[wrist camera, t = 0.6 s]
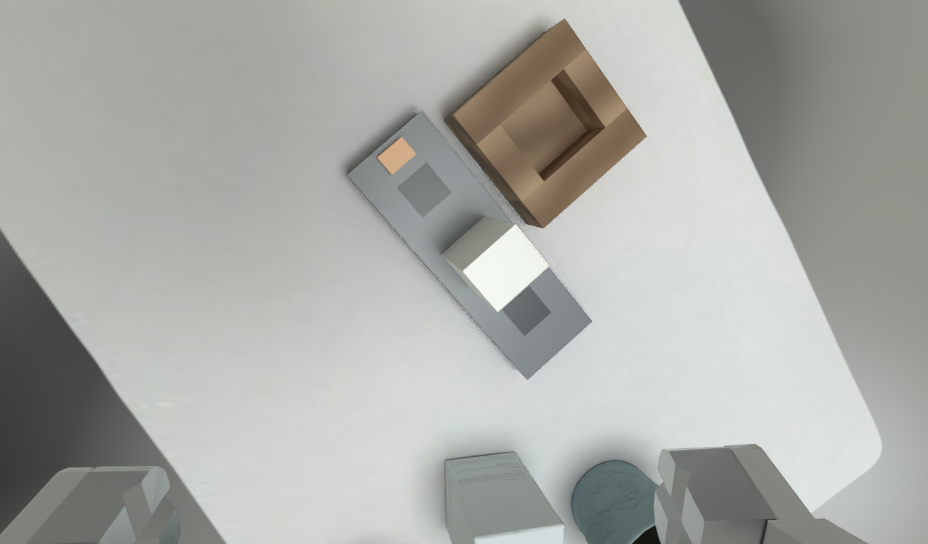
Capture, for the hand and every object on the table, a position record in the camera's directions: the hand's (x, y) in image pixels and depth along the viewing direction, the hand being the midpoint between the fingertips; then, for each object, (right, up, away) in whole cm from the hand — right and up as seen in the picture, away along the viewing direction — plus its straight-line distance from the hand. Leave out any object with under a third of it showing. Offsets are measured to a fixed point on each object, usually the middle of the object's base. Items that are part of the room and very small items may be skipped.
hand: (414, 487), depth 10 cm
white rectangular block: (+2, +6, +42) cm, 43 cm away
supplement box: (+3, -18, +48) cm, 51 cm away
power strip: (+1, +6, +43) cm, 44 cm away
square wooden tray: (+7, +16, +43) cm, 47 cm away
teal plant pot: (+16, -20, +51) cm, 57 cm away
